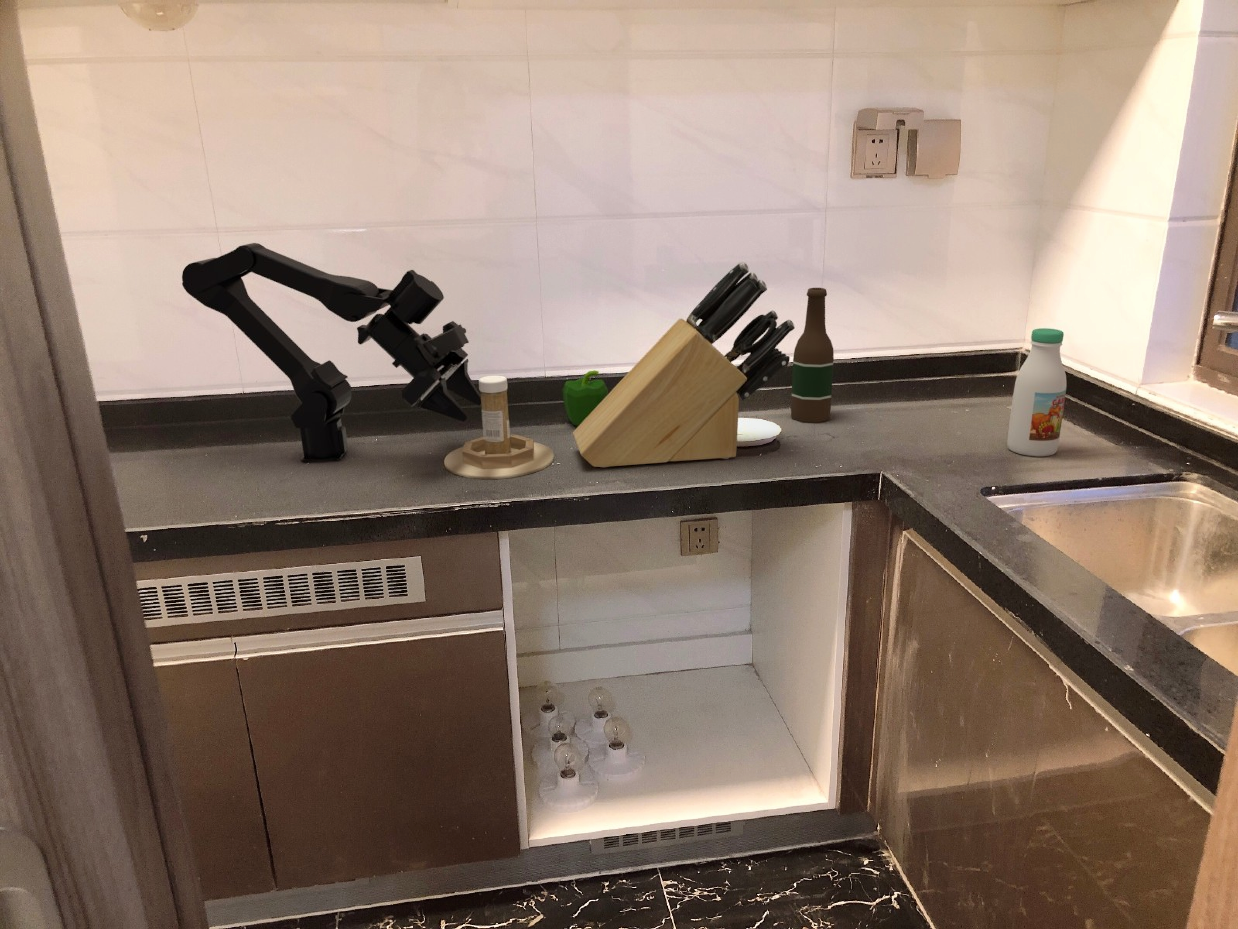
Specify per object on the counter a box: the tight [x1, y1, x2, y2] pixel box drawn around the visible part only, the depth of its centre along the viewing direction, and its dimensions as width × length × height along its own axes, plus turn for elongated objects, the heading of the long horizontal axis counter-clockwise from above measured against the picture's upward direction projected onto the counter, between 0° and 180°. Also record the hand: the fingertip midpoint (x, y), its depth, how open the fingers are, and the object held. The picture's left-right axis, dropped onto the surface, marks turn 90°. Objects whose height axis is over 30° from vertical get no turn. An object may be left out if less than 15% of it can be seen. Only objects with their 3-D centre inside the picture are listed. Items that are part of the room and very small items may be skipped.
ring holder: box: [444, 433, 555, 480], centre depth 152 cm, size 18×18×3 cm
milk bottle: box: [1006, 327, 1067, 457], centre depth 148 cm, size 8×8×20 cm
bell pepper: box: [561, 370, 609, 427], centre depth 169 cm, size 8×8×10 cm
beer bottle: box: [790, 287, 835, 424], centre depth 168 cm, size 8×8×24 cm
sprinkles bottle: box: [478, 375, 512, 455], centre depth 150 cm, size 5×5×14 cm
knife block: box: [572, 261, 796, 469], centre depth 149 cm, size 11×35×31 cm, turn 99°
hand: (474, 411), depth 150 cm, fingers open, 9 cm apart
